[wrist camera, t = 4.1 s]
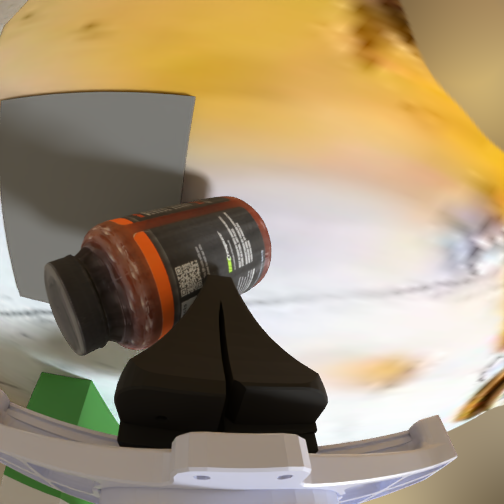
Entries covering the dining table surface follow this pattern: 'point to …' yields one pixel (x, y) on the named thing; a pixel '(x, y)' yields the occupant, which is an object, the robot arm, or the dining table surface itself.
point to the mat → (84, 169)
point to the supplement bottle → (153, 270)
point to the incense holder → (9, 10)
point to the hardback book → (67, 410)
